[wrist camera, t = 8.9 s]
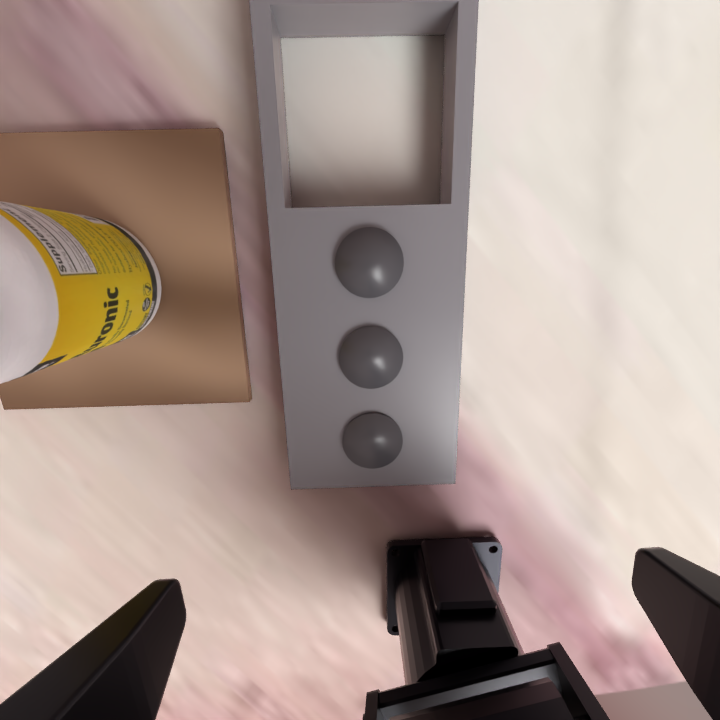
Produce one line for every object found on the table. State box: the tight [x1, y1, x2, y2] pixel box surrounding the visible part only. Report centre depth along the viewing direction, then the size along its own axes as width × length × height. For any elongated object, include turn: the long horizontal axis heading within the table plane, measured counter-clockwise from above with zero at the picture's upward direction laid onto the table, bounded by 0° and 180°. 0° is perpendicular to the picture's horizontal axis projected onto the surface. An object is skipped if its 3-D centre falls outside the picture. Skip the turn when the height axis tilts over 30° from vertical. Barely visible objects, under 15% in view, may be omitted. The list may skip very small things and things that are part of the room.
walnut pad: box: [0, 128, 252, 410], centre depth 17 cm, size 12×12×1 cm
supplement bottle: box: [0, 201, 161, 384], centre depth 12 cm, size 5×5×10 cm
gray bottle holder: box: [249, 0, 479, 489], centre depth 16 cm, size 22×8×3 cm, turn 1°
